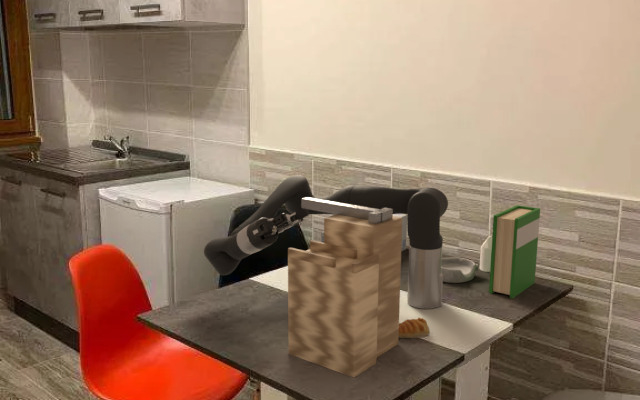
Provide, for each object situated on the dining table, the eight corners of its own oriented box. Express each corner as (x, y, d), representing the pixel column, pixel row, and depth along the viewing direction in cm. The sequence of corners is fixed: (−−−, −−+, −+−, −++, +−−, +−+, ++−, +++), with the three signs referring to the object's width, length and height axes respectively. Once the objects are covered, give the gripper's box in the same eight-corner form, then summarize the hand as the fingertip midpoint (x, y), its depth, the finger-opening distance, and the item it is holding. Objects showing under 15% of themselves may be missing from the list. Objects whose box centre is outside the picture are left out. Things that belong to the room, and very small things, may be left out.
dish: (480, 275, 212) (481, 260, 211) (465, 287, 201) (466, 272, 200) (439, 267, 220) (439, 253, 219) (422, 279, 209) (423, 264, 208)
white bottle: (487, 231, 219) (502, 234, 216) (485, 265, 222) (500, 269, 218) (478, 234, 215) (493, 238, 211) (476, 269, 218) (491, 273, 214)
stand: (288, 353, 155) (287, 223, 148) (341, 326, 171) (342, 207, 164) (353, 377, 143) (356, 237, 137) (403, 345, 159) (407, 218, 153)
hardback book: (512, 298, 191) (518, 219, 186) (488, 293, 196) (493, 215, 191) (534, 282, 205) (540, 208, 200) (511, 278, 209) (516, 205, 204)
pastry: (399, 342, 162) (399, 328, 161) (386, 332, 168) (386, 318, 167) (431, 336, 165) (432, 322, 164) (418, 327, 171) (418, 313, 171)
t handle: (295, 209, 161) (295, 200, 161) (313, 204, 167) (313, 195, 166) (376, 224, 147) (376, 214, 146) (393, 219, 152) (393, 209, 152)
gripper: (280, 243, 180) (319, 222, 170) (243, 254, 169) (283, 232, 159) (269, 218, 181) (308, 196, 171) (232, 228, 170) (271, 204, 160)
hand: (296, 213), depth 165 cm, fingers open, 8 cm apart
